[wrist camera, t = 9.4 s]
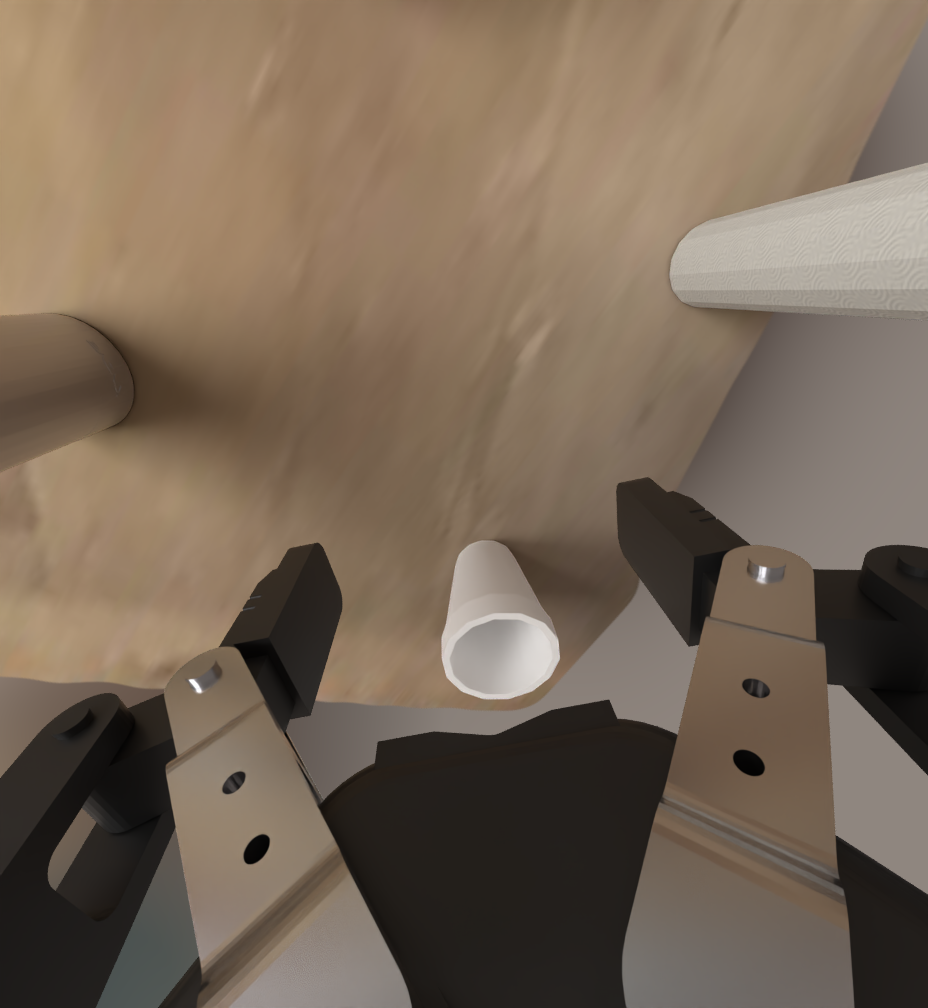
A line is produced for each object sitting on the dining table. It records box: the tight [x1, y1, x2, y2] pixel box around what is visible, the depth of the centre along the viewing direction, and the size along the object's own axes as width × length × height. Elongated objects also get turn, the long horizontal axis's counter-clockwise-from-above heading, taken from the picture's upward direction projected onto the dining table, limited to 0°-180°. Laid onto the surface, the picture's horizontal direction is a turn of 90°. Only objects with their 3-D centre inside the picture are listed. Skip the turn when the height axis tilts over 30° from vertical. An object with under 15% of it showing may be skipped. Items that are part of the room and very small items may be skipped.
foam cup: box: [442, 540, 560, 699], centre depth 40 cm, size 10×9×13 cm
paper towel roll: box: [669, 163, 928, 321], centre depth 25 cm, size 7×6×21 cm
